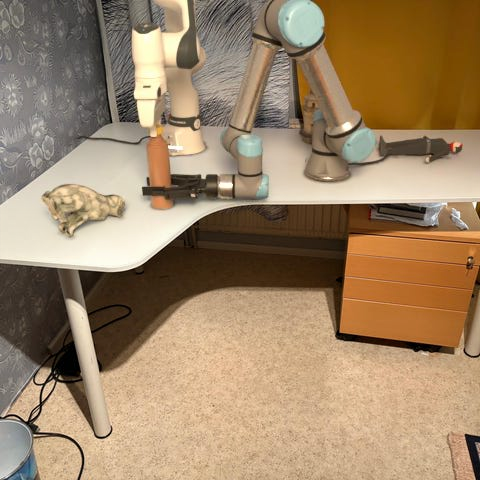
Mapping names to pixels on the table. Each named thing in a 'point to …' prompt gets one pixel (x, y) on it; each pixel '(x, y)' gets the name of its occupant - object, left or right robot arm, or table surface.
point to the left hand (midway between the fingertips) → (155, 133)
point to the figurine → (80, 205)
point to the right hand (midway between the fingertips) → (144, 186)
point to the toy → (420, 147)
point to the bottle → (159, 169)
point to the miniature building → (308, 116)
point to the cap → (158, 129)
